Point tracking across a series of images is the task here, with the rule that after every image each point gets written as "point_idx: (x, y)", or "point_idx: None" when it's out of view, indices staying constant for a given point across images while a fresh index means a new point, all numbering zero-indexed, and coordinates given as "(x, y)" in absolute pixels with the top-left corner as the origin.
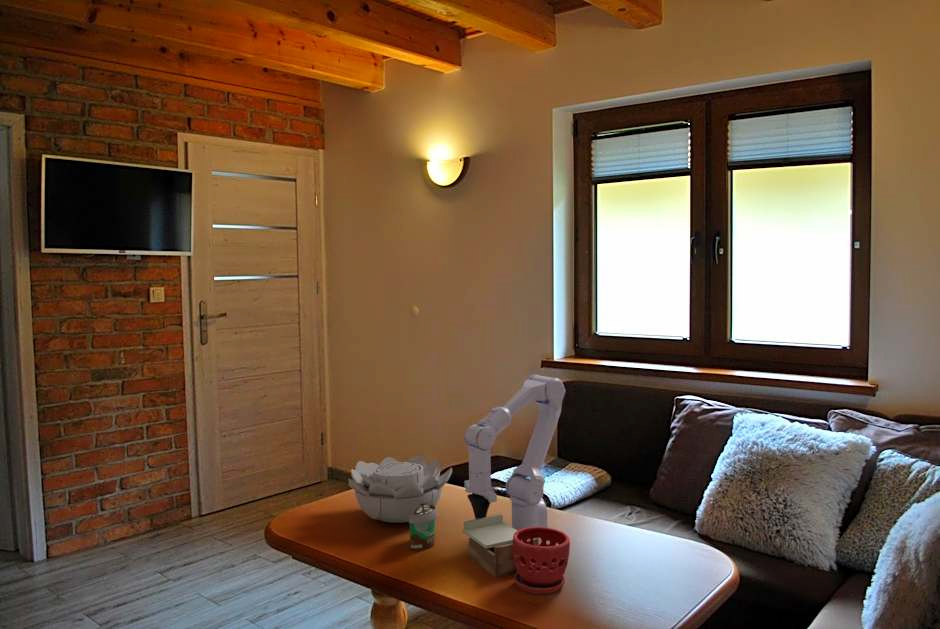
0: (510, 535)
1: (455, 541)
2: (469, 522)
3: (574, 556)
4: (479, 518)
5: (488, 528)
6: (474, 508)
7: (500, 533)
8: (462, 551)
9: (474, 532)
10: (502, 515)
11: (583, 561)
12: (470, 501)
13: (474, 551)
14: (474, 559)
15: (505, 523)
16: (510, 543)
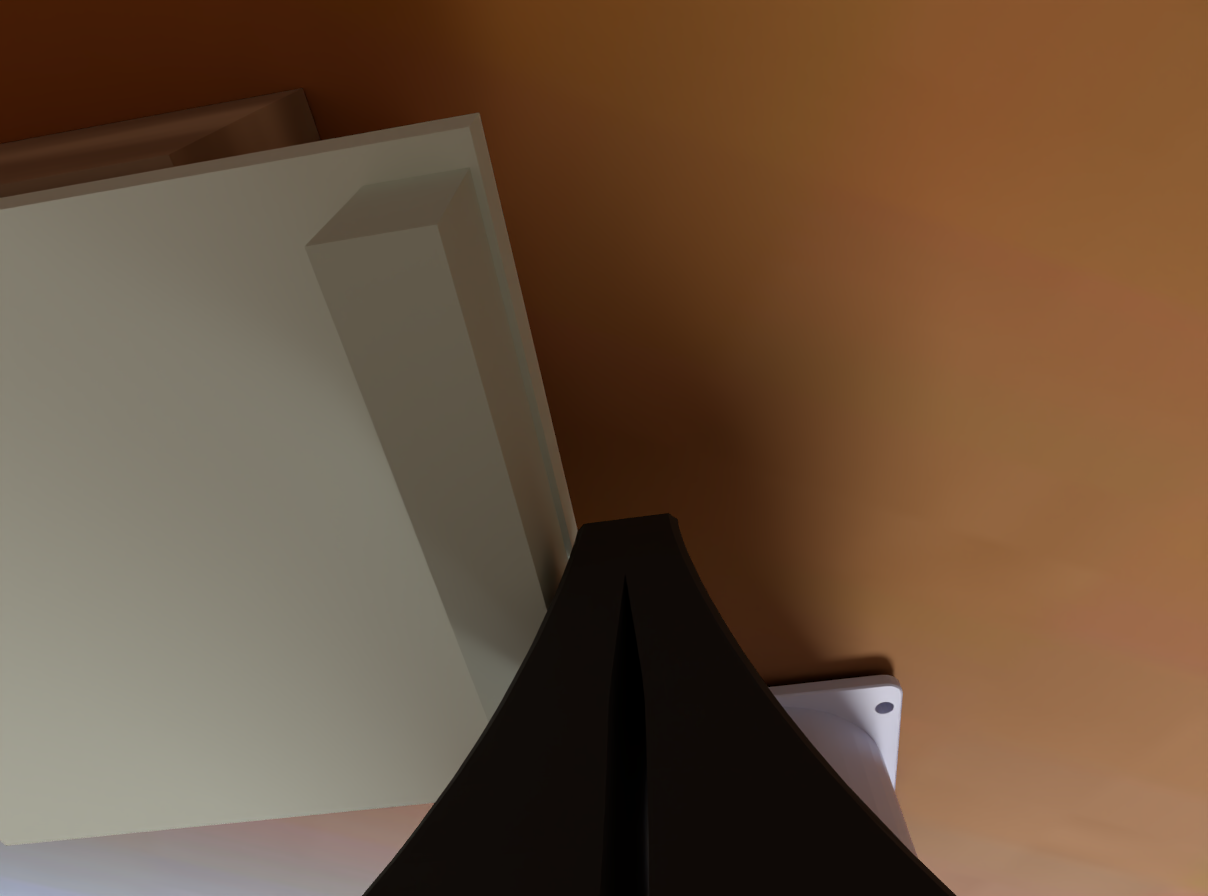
0: (40, 733)
1: (962, 80)
2: (351, 350)
3: (213, 863)
4: (539, 604)
5: (384, 584)
6: (648, 727)
7: (128, 660)
8: (548, 61)
9: (209, 322)
10: None
11: (118, 874)
12: (852, 873)
13: (55, 150)
14: (129, 122)
15: None
16: None
